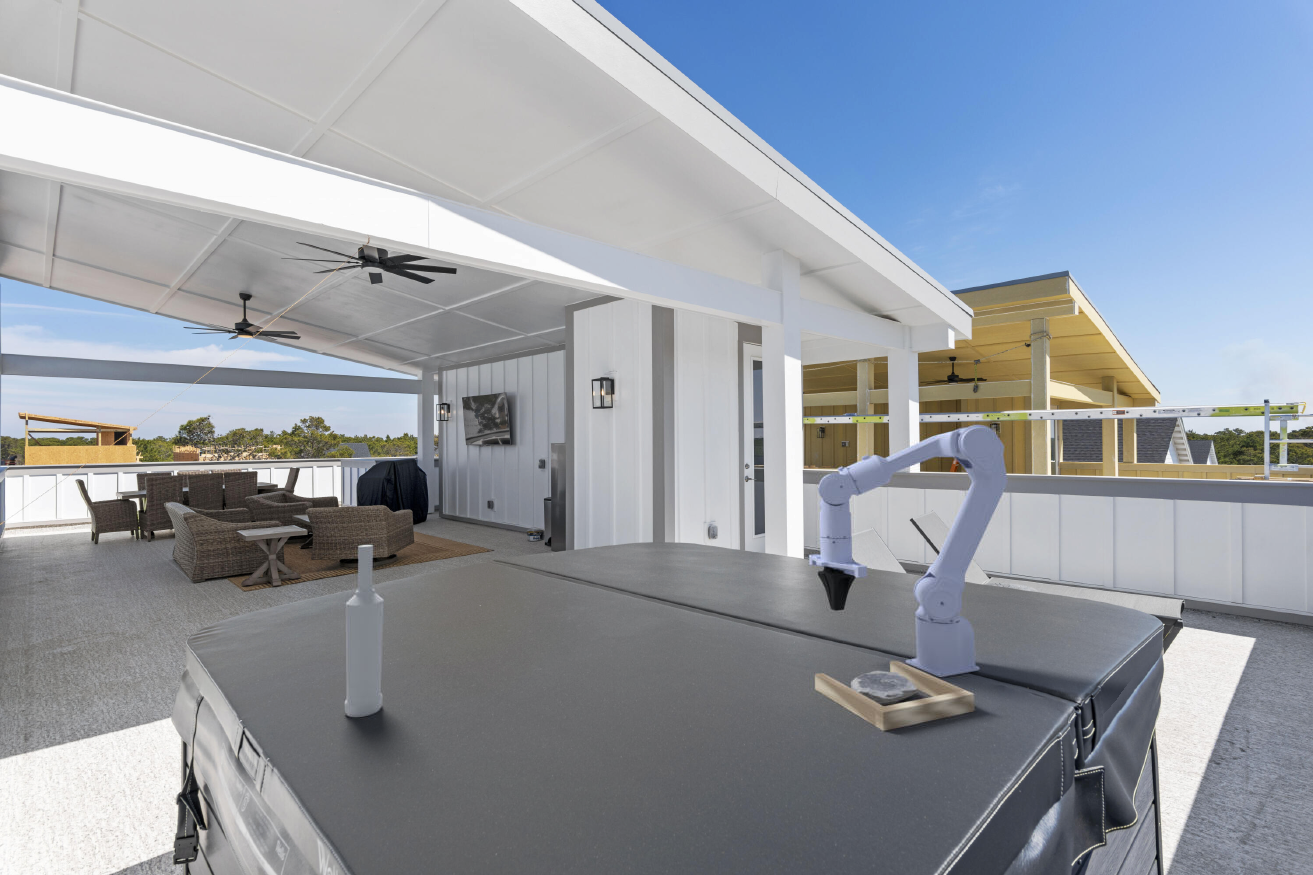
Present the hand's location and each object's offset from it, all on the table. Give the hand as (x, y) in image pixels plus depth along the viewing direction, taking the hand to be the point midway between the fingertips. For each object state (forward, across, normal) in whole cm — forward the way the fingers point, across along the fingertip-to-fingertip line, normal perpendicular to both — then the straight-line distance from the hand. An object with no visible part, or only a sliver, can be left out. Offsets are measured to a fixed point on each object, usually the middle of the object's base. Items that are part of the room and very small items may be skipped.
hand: (837, 609), depth 108 cm
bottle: (+10, -9, -81) cm, 82 cm away
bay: (+9, +17, -4) cm, 20 cm away
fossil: (+10, +16, -4) cm, 19 cm away
